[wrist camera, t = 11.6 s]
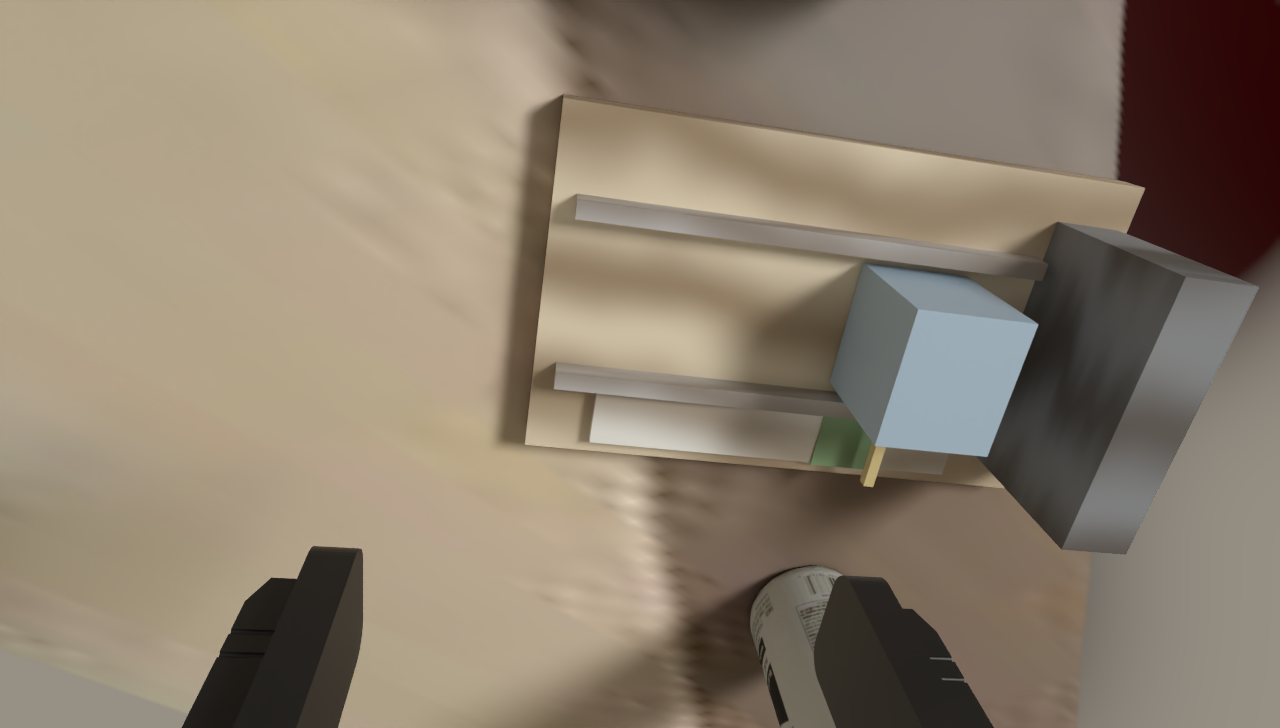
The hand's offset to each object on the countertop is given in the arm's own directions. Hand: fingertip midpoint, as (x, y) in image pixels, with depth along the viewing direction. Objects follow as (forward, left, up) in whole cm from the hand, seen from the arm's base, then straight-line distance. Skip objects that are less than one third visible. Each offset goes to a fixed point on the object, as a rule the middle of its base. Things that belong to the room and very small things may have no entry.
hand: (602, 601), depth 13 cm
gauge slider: (+4, +16, -22) cm, 28 cm away
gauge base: (+2, +12, -24) cm, 27 cm away
